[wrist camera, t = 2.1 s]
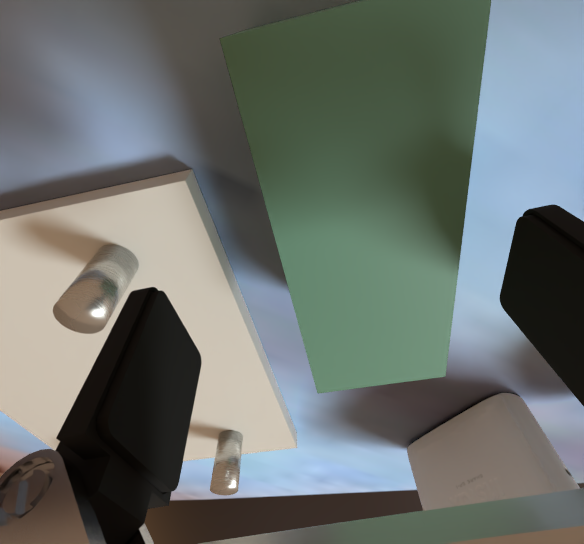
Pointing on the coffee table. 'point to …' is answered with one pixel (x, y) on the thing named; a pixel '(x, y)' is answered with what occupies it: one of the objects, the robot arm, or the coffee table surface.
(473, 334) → the coffee table surface
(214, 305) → the standoff plate
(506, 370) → the coffee table surface
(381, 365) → the board block
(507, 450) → the photo printer
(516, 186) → the coffee table surface
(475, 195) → the coffee table surface
